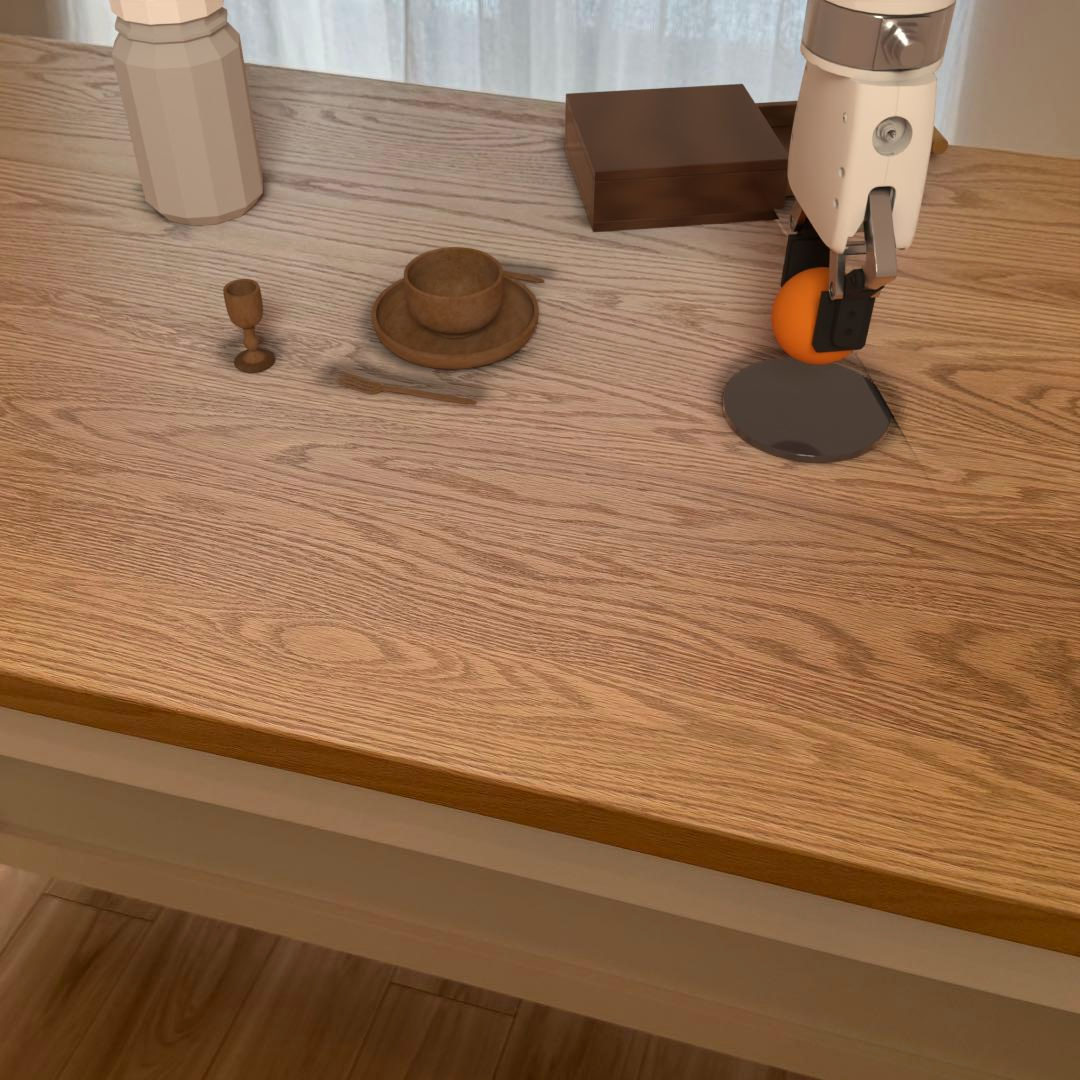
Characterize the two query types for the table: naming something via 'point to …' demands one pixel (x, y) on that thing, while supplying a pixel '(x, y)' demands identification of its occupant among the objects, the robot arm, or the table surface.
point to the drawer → (783, 119)
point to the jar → (187, 108)
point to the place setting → (423, 316)
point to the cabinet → (674, 157)
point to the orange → (802, 316)
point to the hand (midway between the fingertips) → (820, 316)
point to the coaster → (806, 410)
